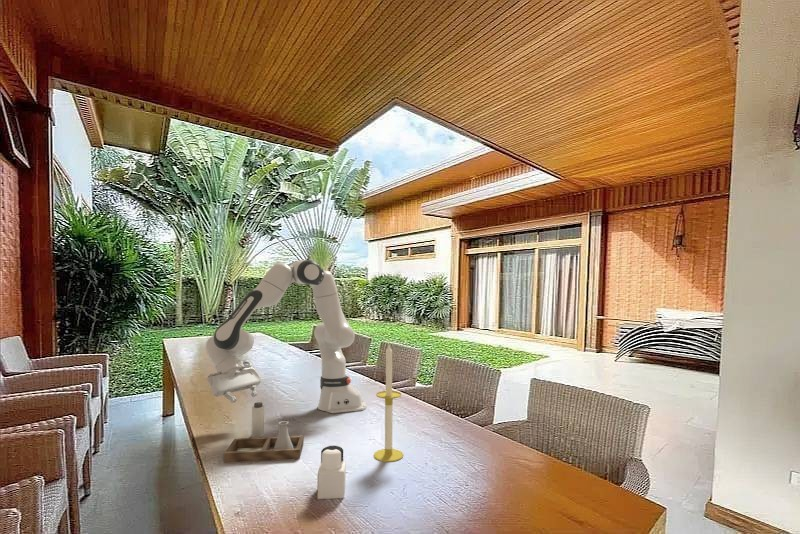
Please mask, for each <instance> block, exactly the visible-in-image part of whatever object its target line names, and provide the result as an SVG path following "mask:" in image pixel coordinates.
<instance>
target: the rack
mask: <svg viewBox="0 0 800 534" xmlns="http://www.w3.org/2000/svg"><path fill="white" fill-rule="evenodd" d="M277 437H278V436H267V437H266V436H265V437H264V436H263V437H262V438H252V437H246V438H245V437H244V438H243V437H242V438H239V437H238V438H234V439H233V440H232V442H231V443H230V444H229V446H228V448H227V449H226V450H225V452H224V453H223V454H224V455H223V458H224V459H223V463H225V464H227V463H229V464H231V463H247V462H248V463H249V462H251V463H252V462H265V461H266V462H267V461H269V462H271V461H284V460H285V461H286V460H288V461H289V460H300V459H301V456H302V451H303V447H304V445H305V443H304V440H305V438H304V437H305V436H304V435H289V437H290V440H291V442H292V445H293V447H296V448H294V449H274V446H275V443H276V440H277ZM271 448H273V449H274V450H273V449H271Z"/></svg>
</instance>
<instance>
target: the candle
mask: <svg viewBox="0 0 800 534" xmlns="http://www.w3.org/2000/svg"><path fill="white" fill-rule="evenodd" d="M401 396H402V393H401V392H399V391H396V390H393V350H392V348H391V344H388V346H387V348H386V350H385V390H382V391H378V392H376V397H377V398H380V399H384V448H383V449H379V450H376V451H375V452H374V454H373V458H374V460H377V461H380V462H383V463H384V462H385V463H393V462H394V463H395V462H397V461H400V460H401V459H404V458H403V457H404V453H403V451H401V450H399V449H395V448H393V406H394V405H393V399H398V398H401Z"/></svg>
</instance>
